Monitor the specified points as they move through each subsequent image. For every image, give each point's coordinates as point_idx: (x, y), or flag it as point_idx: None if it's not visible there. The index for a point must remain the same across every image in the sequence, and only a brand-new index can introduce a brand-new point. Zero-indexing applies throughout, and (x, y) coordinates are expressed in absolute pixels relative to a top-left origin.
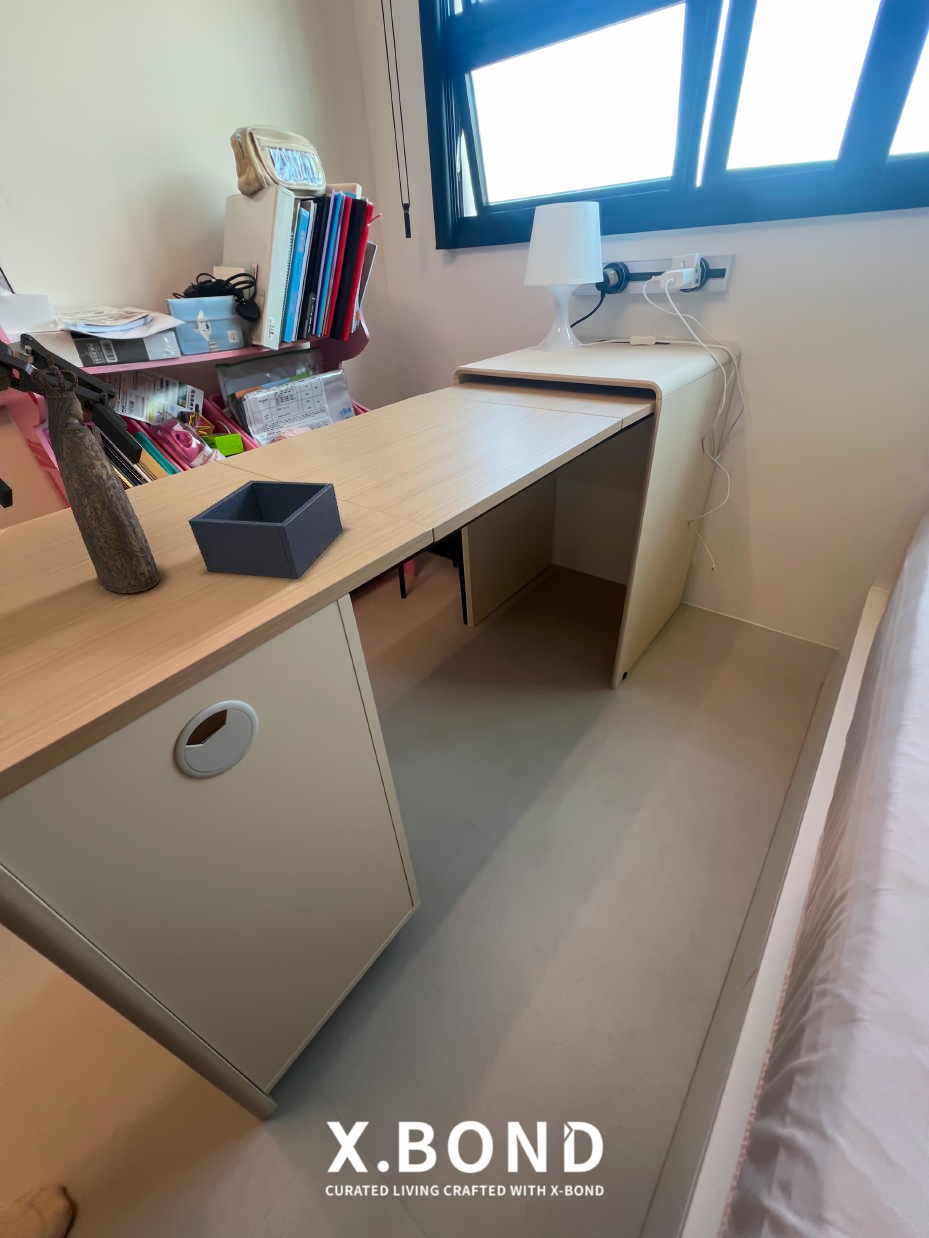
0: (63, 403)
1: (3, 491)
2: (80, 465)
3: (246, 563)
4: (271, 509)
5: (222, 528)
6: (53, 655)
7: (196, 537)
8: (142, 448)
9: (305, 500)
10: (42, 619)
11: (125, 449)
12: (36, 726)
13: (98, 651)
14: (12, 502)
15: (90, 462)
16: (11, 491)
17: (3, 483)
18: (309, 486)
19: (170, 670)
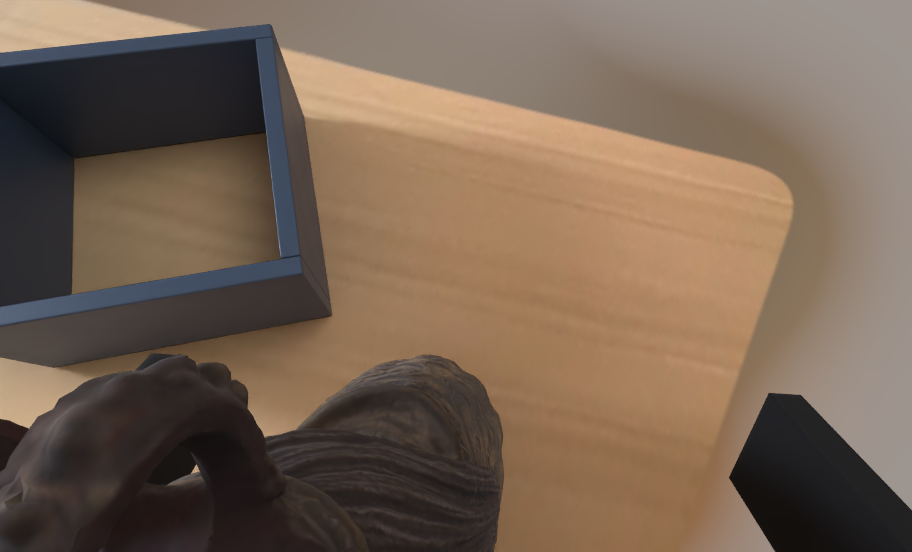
0: (337, 468)
1: (800, 399)
2: (473, 387)
3: (311, 199)
4: (25, 298)
5: (294, 186)
6: (674, 352)
7: (312, 283)
8: (151, 356)
9: (5, 168)
10: (624, 514)
11: (164, 465)
12: (762, 210)
13: (627, 283)
14: (738, 459)
15: (434, 364)
16: (767, 402)
17: (800, 416)
18: None
19: (600, 136)
